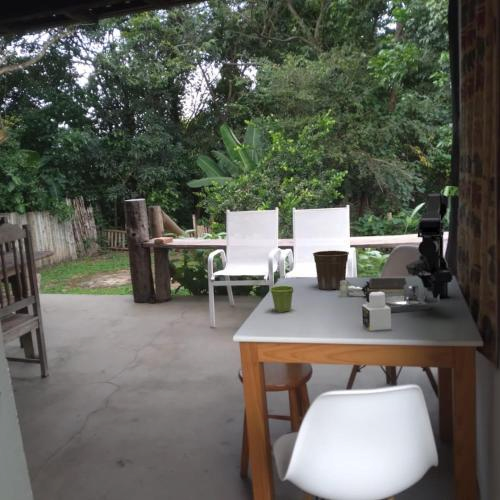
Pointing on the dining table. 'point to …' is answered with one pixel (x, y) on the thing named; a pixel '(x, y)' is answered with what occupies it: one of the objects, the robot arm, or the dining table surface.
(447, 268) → the robot arm
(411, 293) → the cylinder
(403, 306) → the dial scale
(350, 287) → the valve
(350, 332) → the dining table surface
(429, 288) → the steel spacer
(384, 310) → the medicine bottle
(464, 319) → the dining table surface
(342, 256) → the plant pot
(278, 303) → the plant pot
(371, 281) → the hardcover book
